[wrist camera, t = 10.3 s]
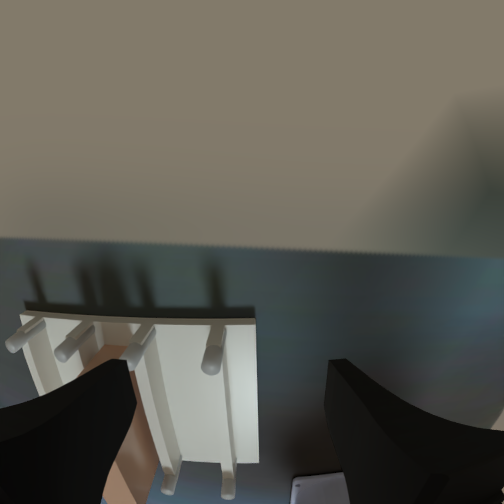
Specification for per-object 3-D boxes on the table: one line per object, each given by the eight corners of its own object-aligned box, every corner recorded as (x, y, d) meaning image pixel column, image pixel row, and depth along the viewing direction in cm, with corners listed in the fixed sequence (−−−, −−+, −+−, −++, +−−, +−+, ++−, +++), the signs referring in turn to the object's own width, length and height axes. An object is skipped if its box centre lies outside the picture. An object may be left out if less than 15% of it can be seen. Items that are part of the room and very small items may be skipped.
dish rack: (258, 454, 23) (259, 499, 18) (69, 433, 23) (48, 466, 18) (255, 317, 20) (255, 358, 15) (26, 310, 20) (-12, 335, 15)
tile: (162, 449, 21) (142, 513, 15) (134, 445, 21) (109, 506, 15) (137, 346, 19) (94, 411, 12) (104, 344, 19) (55, 403, 13)
